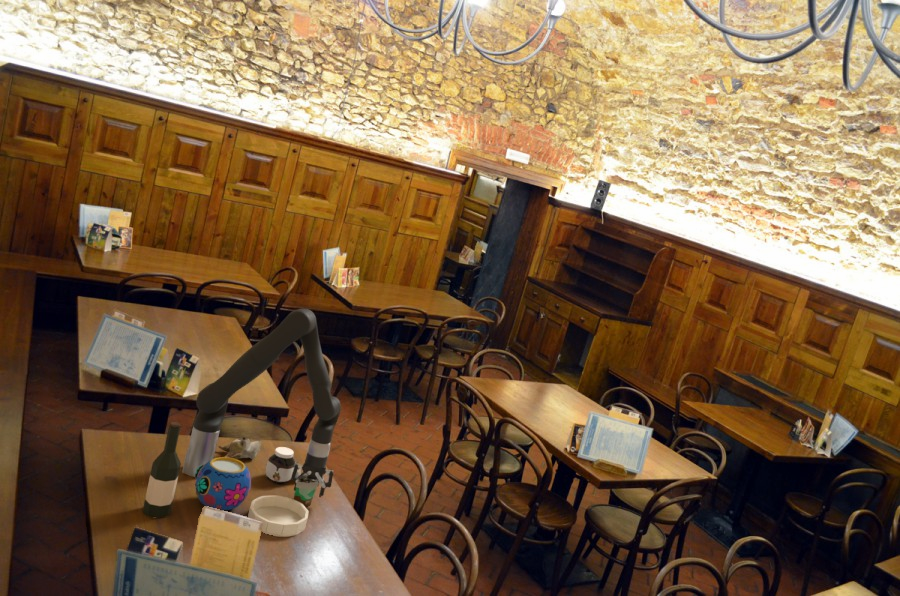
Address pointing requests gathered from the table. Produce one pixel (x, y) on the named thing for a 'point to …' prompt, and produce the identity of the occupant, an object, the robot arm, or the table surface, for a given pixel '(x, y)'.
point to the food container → (305, 491)
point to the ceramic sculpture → (242, 448)
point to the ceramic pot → (222, 483)
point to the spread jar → (281, 466)
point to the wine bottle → (163, 477)
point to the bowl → (279, 515)
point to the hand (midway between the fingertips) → (308, 494)
